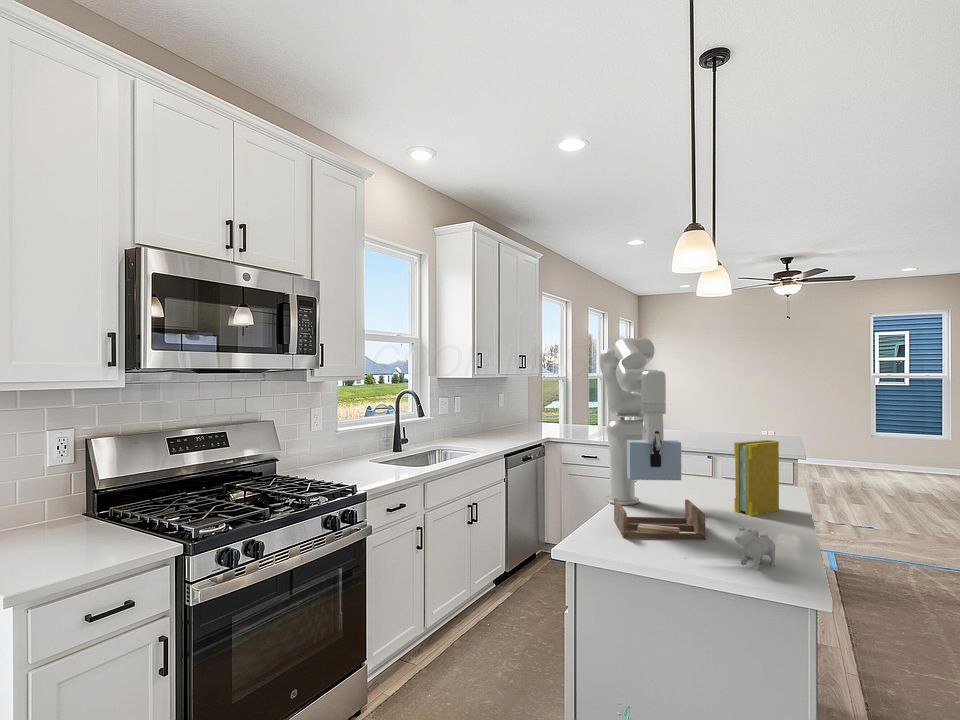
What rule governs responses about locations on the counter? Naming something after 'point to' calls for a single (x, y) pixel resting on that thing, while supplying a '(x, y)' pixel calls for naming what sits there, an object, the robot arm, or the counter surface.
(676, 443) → the blue-grey rectangular block
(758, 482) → the book
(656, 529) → the offcut top
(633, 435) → the robot arm
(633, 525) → the rack
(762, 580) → the counter surface
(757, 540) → the grey animal figure
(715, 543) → the counter surface
